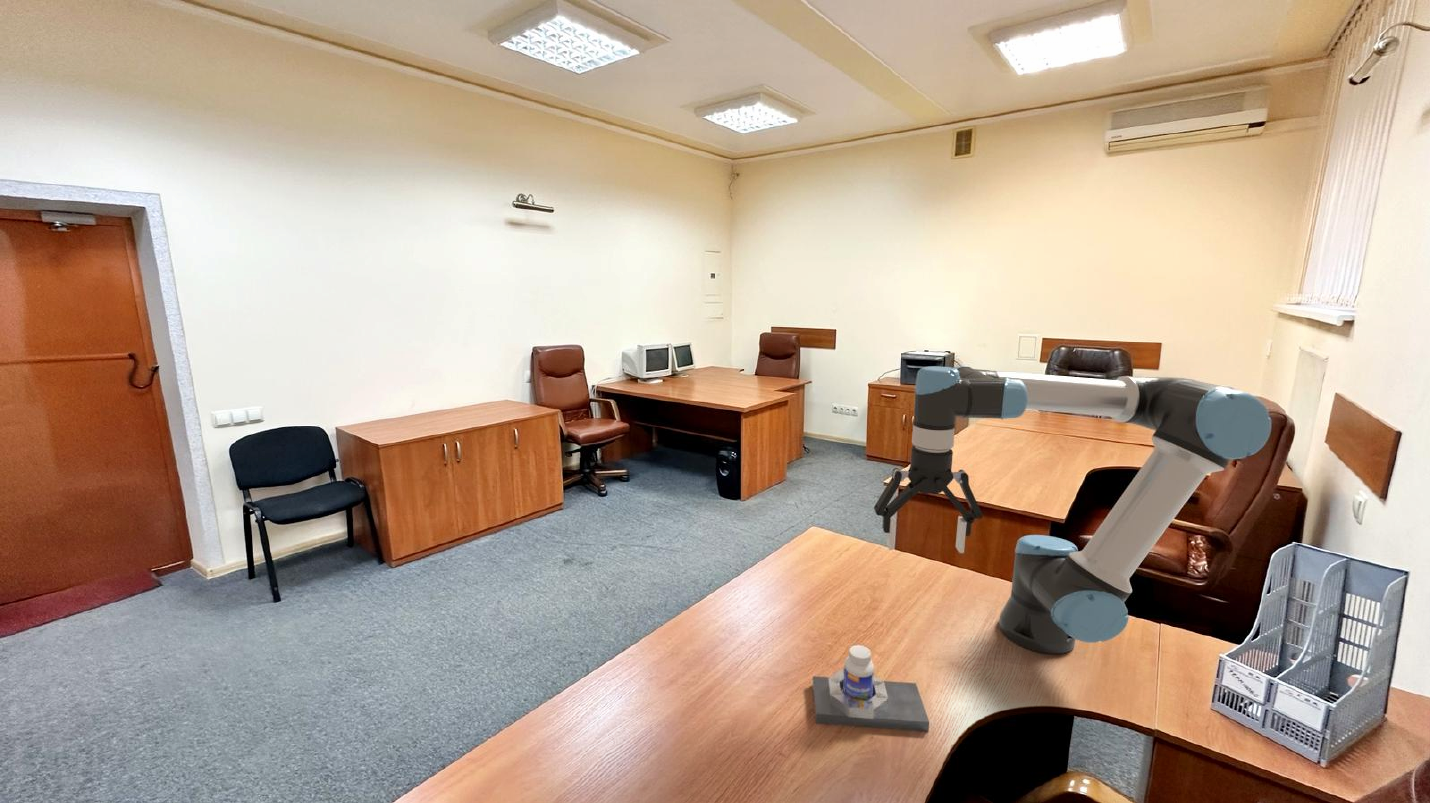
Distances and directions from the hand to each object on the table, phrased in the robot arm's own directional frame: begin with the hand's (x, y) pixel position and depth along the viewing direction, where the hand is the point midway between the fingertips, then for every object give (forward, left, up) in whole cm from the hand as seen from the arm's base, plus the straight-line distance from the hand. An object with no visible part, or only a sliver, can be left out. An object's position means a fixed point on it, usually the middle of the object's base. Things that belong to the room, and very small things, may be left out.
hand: (924, 548), depth 112 cm
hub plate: (+12, +13, -27) cm, 32 cm away
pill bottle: (+14, +13, -25) cm, 31 cm away
